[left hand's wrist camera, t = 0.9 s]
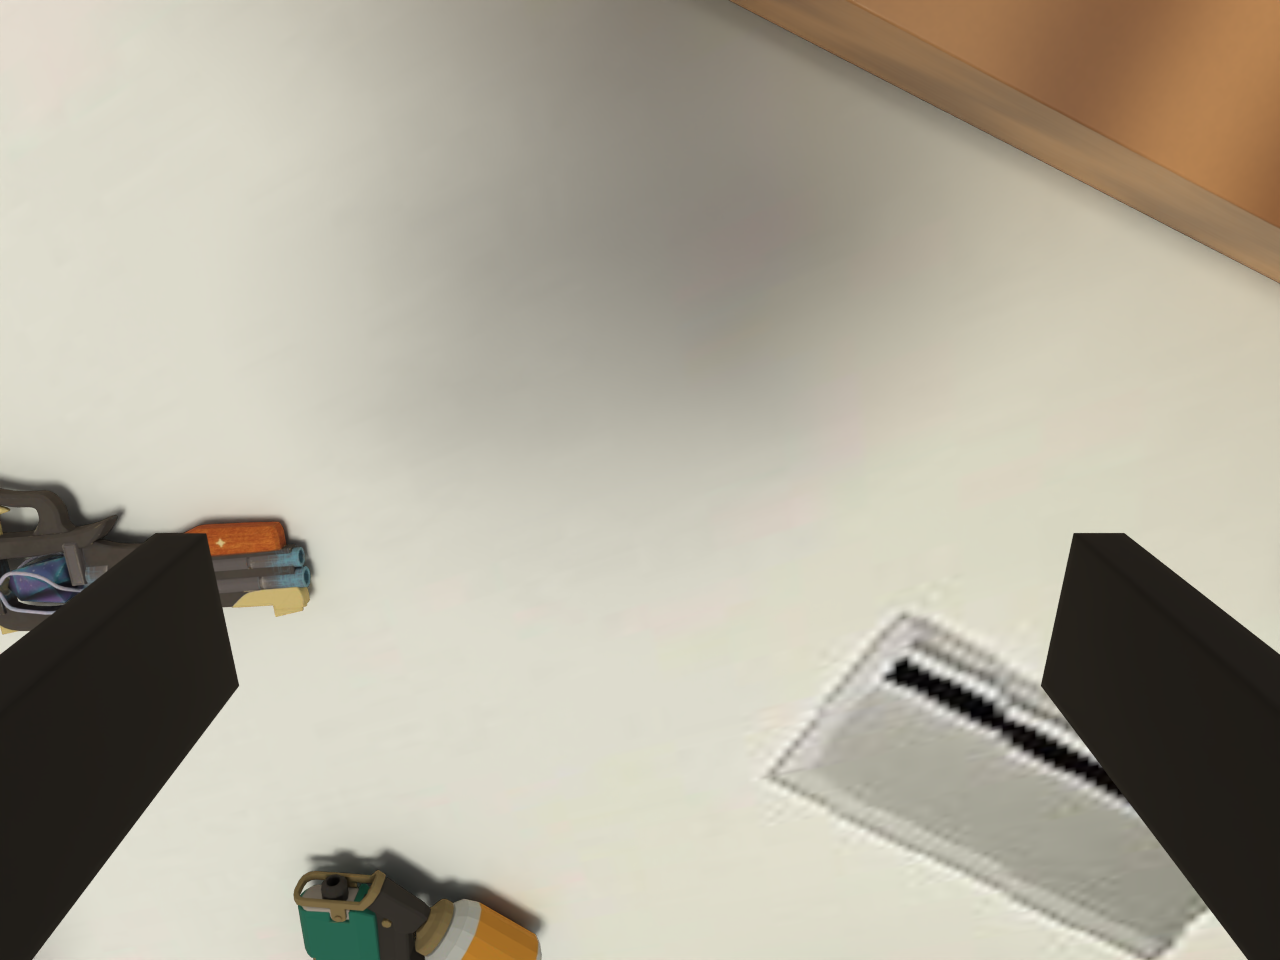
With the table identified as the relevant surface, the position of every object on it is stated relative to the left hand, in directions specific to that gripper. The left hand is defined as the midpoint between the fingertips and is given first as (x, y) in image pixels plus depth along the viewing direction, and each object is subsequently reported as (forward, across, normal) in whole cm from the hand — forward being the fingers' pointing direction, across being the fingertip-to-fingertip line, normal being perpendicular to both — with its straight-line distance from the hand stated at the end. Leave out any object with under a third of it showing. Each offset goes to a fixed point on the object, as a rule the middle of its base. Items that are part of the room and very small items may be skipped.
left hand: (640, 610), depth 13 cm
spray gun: (+23, -13, -38) cm, 46 cm away
